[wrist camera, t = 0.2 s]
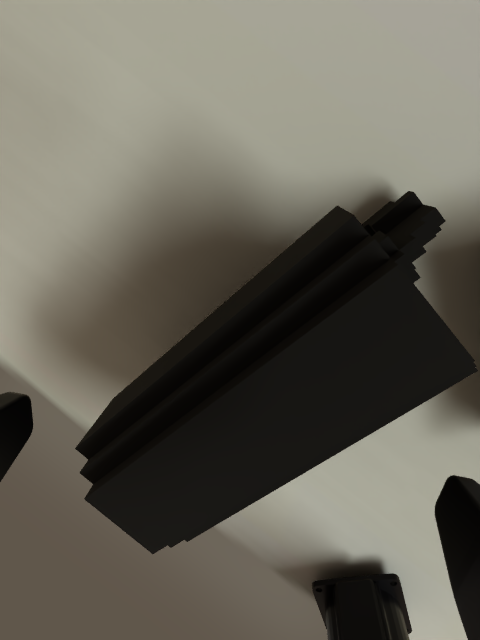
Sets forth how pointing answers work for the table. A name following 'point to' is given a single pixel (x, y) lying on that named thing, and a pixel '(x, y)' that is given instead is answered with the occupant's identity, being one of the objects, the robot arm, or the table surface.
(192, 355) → the black stepped block
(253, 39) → the table surface
